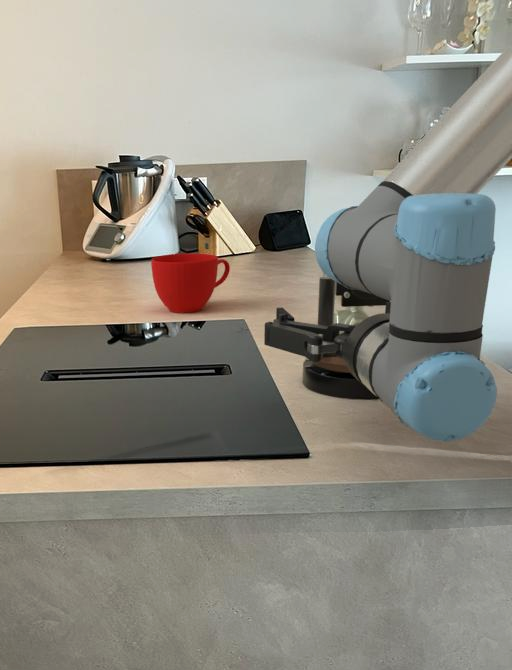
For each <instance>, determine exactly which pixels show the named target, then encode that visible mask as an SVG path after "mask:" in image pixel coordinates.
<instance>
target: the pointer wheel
mask: <svg viewBox="0 0 512 670" xmlns="http://www.w3.org/2000/svg"><path fill="white" fill-rule="evenodd" d="M318 282H319V283H318V284H319V285H318V302H317V303H318V304H317V305H318V307H317V325H323V326H329V325H332V324H333V323H334V313H335V301H336V299H335V283H336V281H334V280H332V279H331V278H329V277H328V276H327V277H323V276H320V277H319V280H318ZM311 362H312V363H313V364H314V365H316V366H318V367H321V368H324V369H327V370H332V371H337V372H345V373H351V372H350V371H349V369H348V367H347V365H346V363H345V360H344V358H338V357H332V356H329V355H327V353H322V358H321V361H318V362H313V361H311Z"/></svg>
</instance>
